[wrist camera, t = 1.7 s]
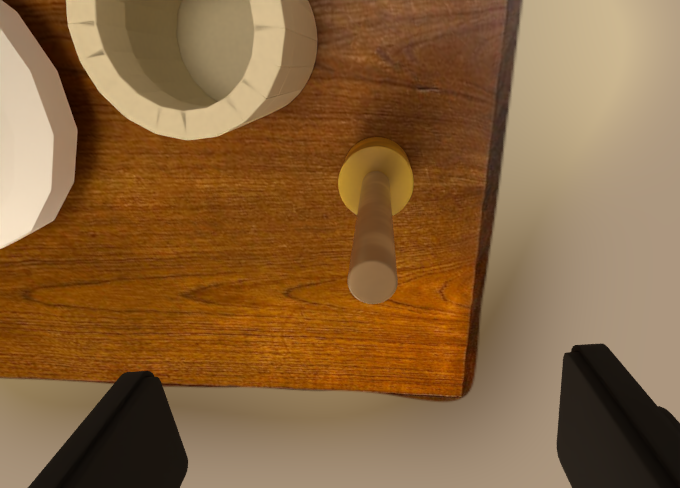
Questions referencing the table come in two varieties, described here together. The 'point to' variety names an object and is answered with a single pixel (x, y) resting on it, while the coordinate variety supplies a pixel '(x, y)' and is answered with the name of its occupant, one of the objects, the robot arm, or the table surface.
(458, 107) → the table surface
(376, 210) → the brush
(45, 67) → the candle holder
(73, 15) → the jar
